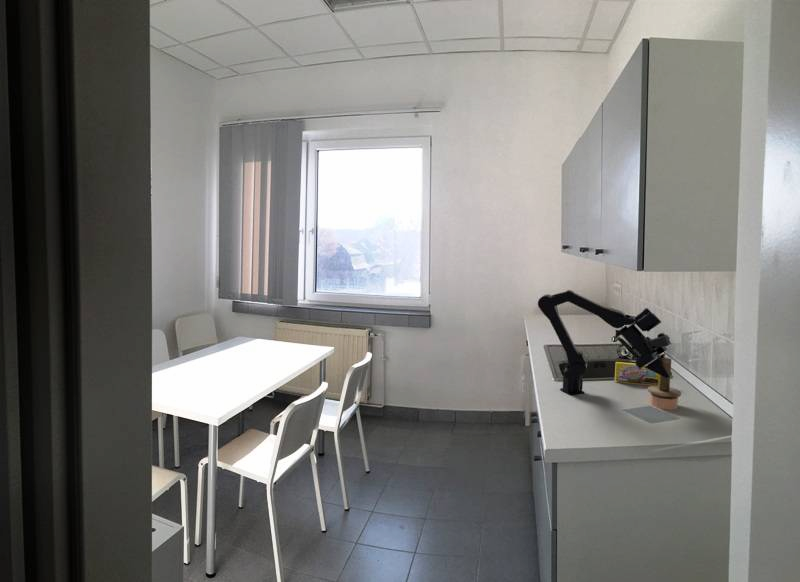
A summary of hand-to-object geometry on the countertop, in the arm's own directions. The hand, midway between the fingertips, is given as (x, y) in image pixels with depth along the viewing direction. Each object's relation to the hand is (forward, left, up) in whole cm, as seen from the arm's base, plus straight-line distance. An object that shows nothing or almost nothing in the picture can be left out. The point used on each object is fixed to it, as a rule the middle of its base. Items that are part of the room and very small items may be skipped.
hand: (669, 376), depth 158 cm
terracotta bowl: (-1, +1, -11) cm, 11 cm away
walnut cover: (-1, +1, -6) cm, 6 cm away
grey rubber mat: (-12, -4, -11) cm, 16 cm away
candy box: (+10, +24, -11) cm, 29 cm away
